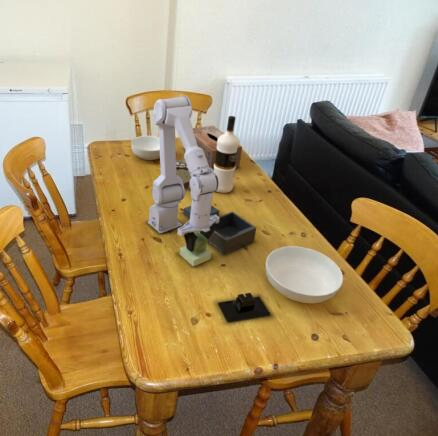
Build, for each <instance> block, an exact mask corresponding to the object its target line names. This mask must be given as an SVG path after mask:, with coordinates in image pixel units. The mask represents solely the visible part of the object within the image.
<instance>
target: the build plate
mask: <svg viewBox="0 0 438 436" xmlns="http://www.w3.org/2000/svg"><path fill="white" fill-rule="evenodd" d="M217 305H218V307H219V309H220V311H221V313H222V316H223V317H224V319H225V321H226V323H228V324H229V323H234V322H235V323H236V322H240V321H246V320H252V319H257V318H269V317H270V316H271V313H270V311H269V309H268V308H267V306H266V305H265V303H264V301H263V300H262V299H261V297H260V296H259V295H257V296H253V295H252V292H246V293H240V294H237V297H236V298H235V299H232V300H227V301H225V300H224V301H220V302H217Z"/></svg>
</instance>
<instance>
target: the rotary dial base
mask: <svg viewBox="0 0 438 436" xmlns="http://www.w3.org/2000/svg"><path fill="white" fill-rule="evenodd" d="M182 213H183V215H184V216H185V217H187V218H188V219H190V213H191V205H188V206H186V207H183V212H182ZM212 215H217V216H218V217H219V216H220V210H219V209H218V208H216V207H214V206H213V205H211V212H210V216H212Z"/></svg>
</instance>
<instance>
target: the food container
mask: <svg viewBox="0 0 438 436" xmlns="http://www.w3.org/2000/svg"><path fill="white" fill-rule="evenodd" d="M176 175H177V176H179V177H180V178H181V179H182V180H183V185H184V189H185V191H189V190H190V180H191V176H190V173H189V170H188V167H187V164H186V161H185V160H181V159H176Z"/></svg>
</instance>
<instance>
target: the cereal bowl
mask: <svg viewBox="0 0 438 436" xmlns="http://www.w3.org/2000/svg"><path fill="white" fill-rule="evenodd" d="M130 147H131V151H132V153H133V154H134V155H135V156H136V157H138V158H140V159H142V160H145V161H155V160H160V146H159V136H156V135H140V136H136V137H135V138H133V139H132V140H131V142H130Z"/></svg>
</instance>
